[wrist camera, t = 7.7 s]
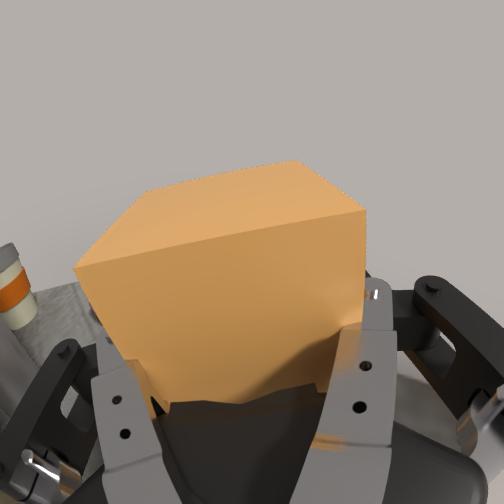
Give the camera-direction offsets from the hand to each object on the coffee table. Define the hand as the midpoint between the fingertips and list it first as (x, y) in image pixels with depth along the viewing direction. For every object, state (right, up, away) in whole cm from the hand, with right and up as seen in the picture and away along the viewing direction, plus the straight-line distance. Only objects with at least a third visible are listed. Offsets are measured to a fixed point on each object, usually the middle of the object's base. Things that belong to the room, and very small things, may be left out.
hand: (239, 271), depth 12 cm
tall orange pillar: (+1, -6, +1) cm, 6 cm away
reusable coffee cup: (-49, -13, +31) cm, 59 cm away
